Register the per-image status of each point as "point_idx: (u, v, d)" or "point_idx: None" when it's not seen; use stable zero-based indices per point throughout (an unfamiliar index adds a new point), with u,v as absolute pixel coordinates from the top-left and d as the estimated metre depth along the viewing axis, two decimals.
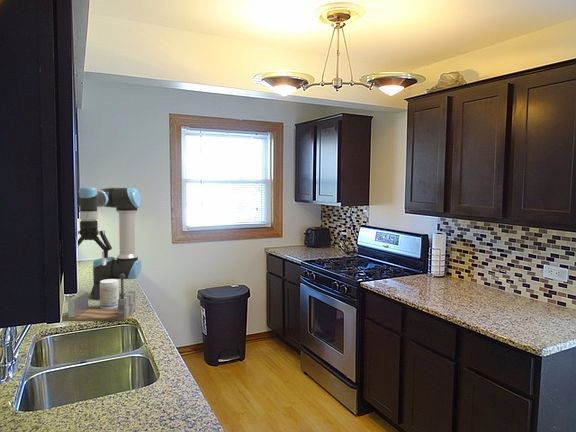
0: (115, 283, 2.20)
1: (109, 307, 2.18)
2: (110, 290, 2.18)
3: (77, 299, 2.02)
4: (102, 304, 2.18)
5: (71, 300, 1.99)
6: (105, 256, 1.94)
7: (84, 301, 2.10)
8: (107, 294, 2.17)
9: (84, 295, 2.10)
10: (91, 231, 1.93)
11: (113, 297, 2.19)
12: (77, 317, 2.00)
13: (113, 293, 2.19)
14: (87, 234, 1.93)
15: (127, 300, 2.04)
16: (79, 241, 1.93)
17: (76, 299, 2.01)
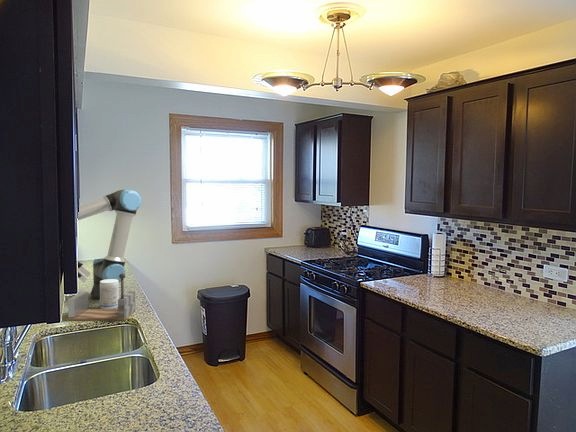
0: (115, 283, 2.20)
1: (109, 307, 2.18)
2: (110, 290, 2.18)
3: (77, 299, 2.02)
4: (102, 304, 2.18)
5: (71, 300, 1.99)
6: None
7: (84, 301, 2.10)
8: (107, 294, 2.17)
9: (84, 295, 2.10)
10: None
11: (113, 297, 2.19)
12: (77, 317, 2.00)
13: (113, 293, 2.19)
14: None
15: (127, 300, 2.04)
16: None
17: (76, 299, 2.01)
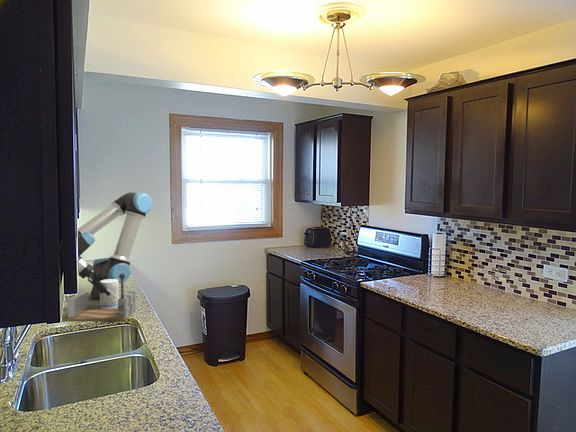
0: (115, 283, 2.20)
1: (109, 307, 2.18)
2: (110, 290, 2.18)
3: (77, 299, 2.02)
4: (102, 304, 2.18)
5: (71, 300, 1.99)
6: None
7: (84, 301, 2.10)
8: None
9: (84, 295, 2.10)
10: None
11: None
12: (77, 317, 2.00)
13: (113, 293, 2.19)
14: None
15: (127, 300, 2.04)
16: None
17: (76, 299, 2.01)
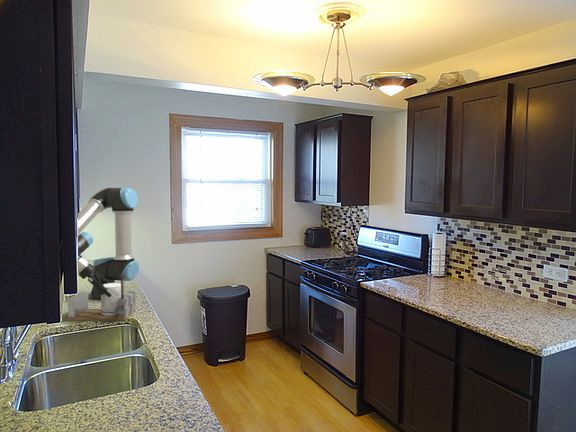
0: (117, 287, 2.05)
1: (111, 313, 2.03)
2: None
3: (77, 299, 2.02)
4: (103, 310, 2.03)
5: (71, 300, 1.99)
6: None
7: (84, 301, 2.10)
8: (109, 299, 2.02)
9: (84, 295, 2.10)
10: None
11: (116, 303, 2.04)
12: (77, 317, 2.00)
13: None
14: None
15: (127, 300, 2.04)
16: None
17: (76, 299, 2.01)
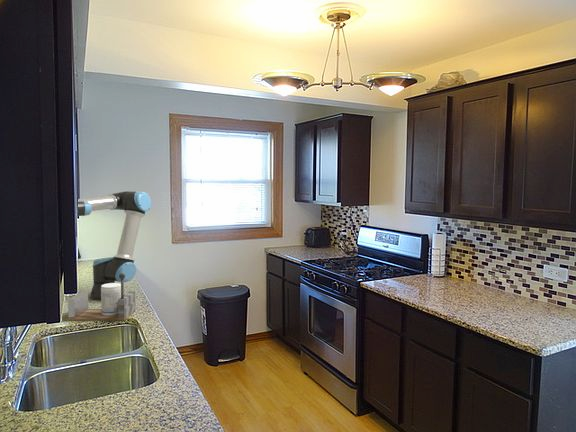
0: (117, 287, 2.05)
1: (111, 313, 2.03)
2: (112, 295, 2.03)
3: (77, 299, 2.02)
4: (103, 310, 2.03)
5: (71, 300, 1.99)
6: None
7: (84, 301, 2.10)
8: (109, 299, 2.02)
9: (84, 295, 2.10)
10: None
11: (116, 303, 2.04)
12: (77, 317, 2.00)
13: (115, 298, 2.04)
14: None
15: (127, 300, 2.04)
16: None
17: (76, 299, 2.01)
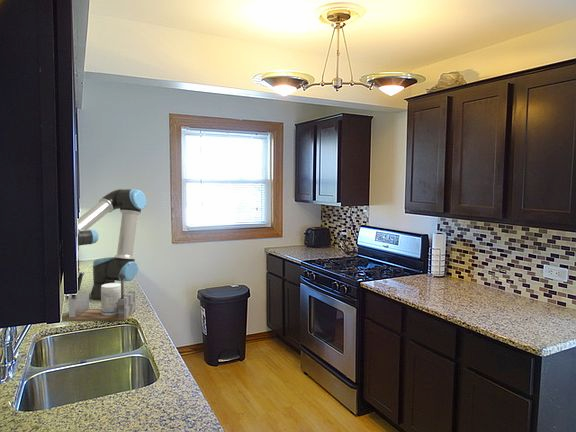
0: (117, 287, 2.04)
1: (111, 313, 2.03)
2: (112, 295, 2.03)
3: (78, 299, 2.02)
4: (103, 310, 2.03)
5: (72, 300, 1.99)
6: None
7: (85, 301, 2.10)
8: (109, 299, 2.02)
9: (85, 295, 2.10)
10: None
11: (116, 303, 2.04)
12: (77, 317, 2.00)
13: (115, 298, 2.04)
14: None
15: (127, 300, 2.04)
16: None
17: (77, 299, 2.01)
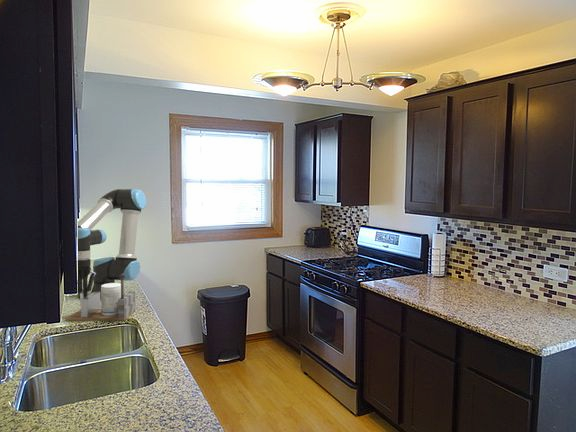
0: (117, 287, 2.04)
1: (111, 313, 2.03)
2: (112, 295, 2.03)
3: (90, 299, 2.03)
4: (103, 310, 2.03)
5: (84, 300, 1.99)
6: None
7: (96, 301, 2.10)
8: (109, 299, 2.02)
9: (96, 295, 2.10)
10: (86, 268, 2.05)
11: (116, 303, 2.04)
12: (77, 317, 2.00)
13: (115, 298, 2.04)
14: (80, 270, 2.05)
15: (127, 300, 2.04)
16: (79, 280, 2.05)
17: (89, 299, 2.02)
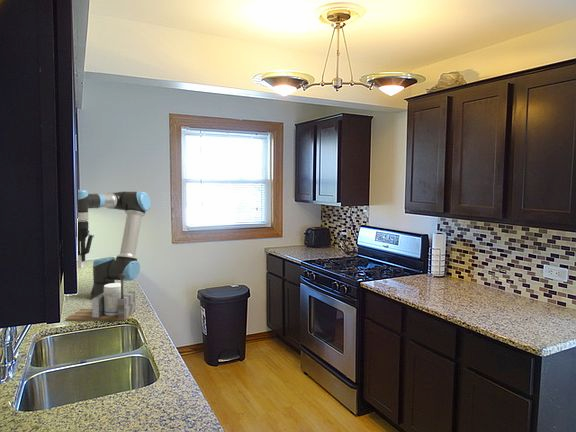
0: (120, 287, 2.05)
1: (114, 313, 2.03)
2: (115, 295, 2.03)
3: (101, 299, 2.03)
4: (106, 310, 2.03)
5: (95, 300, 1.99)
6: (82, 259, 2.05)
7: None
8: (111, 299, 2.02)
9: None
10: (83, 230, 2.04)
11: None
12: (77, 317, 2.00)
13: (118, 298, 2.04)
14: (78, 232, 2.03)
15: (127, 300, 2.04)
16: None
17: (100, 299, 2.02)
